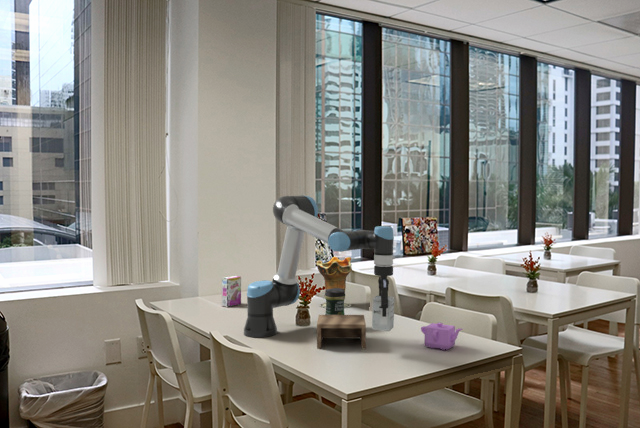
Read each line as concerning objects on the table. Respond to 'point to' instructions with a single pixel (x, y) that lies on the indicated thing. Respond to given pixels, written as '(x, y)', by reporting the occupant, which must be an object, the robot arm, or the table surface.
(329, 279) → the decorative vase
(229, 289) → the candy bar box
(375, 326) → the supplement box
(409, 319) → the table surface
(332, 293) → the coffee jar
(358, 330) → the walnut shelf
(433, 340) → the teapot
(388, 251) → the robot arm
